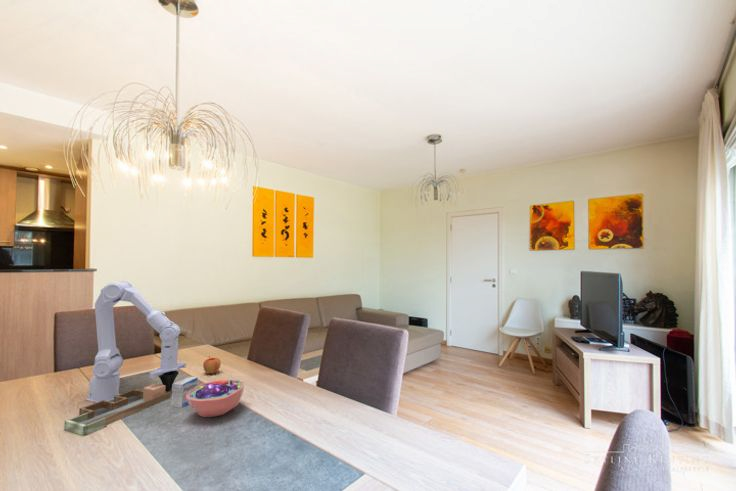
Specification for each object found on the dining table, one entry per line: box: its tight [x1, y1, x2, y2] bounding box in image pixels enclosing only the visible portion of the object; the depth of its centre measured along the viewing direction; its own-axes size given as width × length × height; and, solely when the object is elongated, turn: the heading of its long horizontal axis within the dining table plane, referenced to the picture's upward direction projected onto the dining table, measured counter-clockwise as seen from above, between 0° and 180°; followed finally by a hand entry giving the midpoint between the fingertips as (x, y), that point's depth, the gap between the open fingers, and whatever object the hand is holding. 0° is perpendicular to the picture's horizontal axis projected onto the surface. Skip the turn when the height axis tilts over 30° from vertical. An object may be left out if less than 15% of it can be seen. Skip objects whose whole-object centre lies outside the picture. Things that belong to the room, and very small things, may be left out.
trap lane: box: [63, 388, 172, 437], centre depth 116 cm, size 15×29×3 cm, turn 160°
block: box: [142, 383, 166, 401], centre depth 126 cm, size 5×5×4 cm
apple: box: [202, 355, 221, 375], centre depth 156 cm, size 7×7×8 cm
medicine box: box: [171, 376, 199, 408], centre depth 123 cm, size 8×4×9 cm, turn 168°
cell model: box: [186, 379, 245, 418], centre depth 117 cm, size 17×20×11 cm
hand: (167, 390), depth 131 cm, fingers closed
